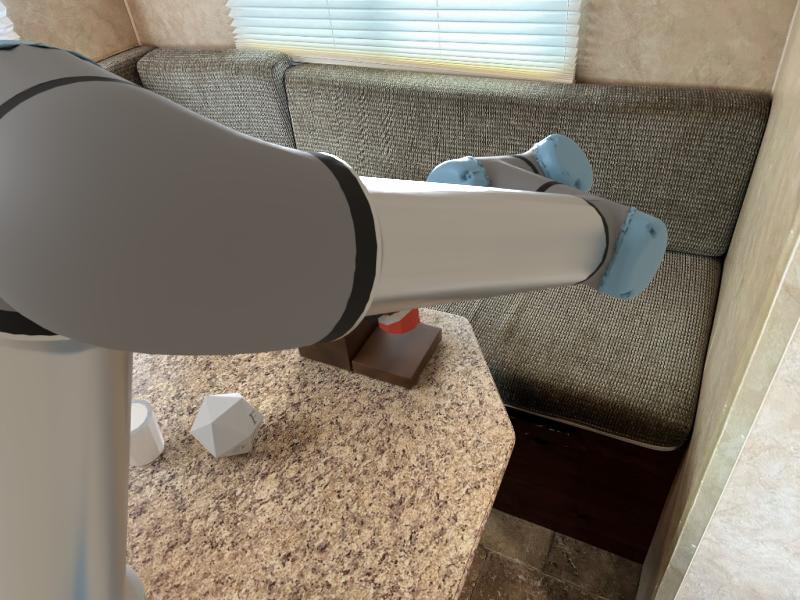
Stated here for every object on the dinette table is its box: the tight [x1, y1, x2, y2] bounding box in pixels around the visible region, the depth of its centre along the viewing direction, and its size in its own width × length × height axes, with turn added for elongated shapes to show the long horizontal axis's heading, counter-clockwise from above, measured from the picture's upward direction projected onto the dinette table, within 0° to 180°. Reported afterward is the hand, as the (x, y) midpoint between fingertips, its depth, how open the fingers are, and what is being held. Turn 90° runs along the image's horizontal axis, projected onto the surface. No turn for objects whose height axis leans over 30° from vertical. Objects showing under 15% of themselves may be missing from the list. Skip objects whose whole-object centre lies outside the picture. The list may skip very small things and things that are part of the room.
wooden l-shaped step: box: [297, 318, 443, 391], centre depth 95 cm, size 20×12×11 cm, turn 64°
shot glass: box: [129, 398, 165, 467], centre depth 84 cm, size 7×7×7 cm
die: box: [189, 392, 265, 459], centre depth 83 cm, size 8×9×10 cm
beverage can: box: [378, 308, 421, 334], centre depth 88 cm, size 6×6×12 cm
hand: (375, 301), depth 91 cm, fingers closed on beverage can, 6 cm apart
